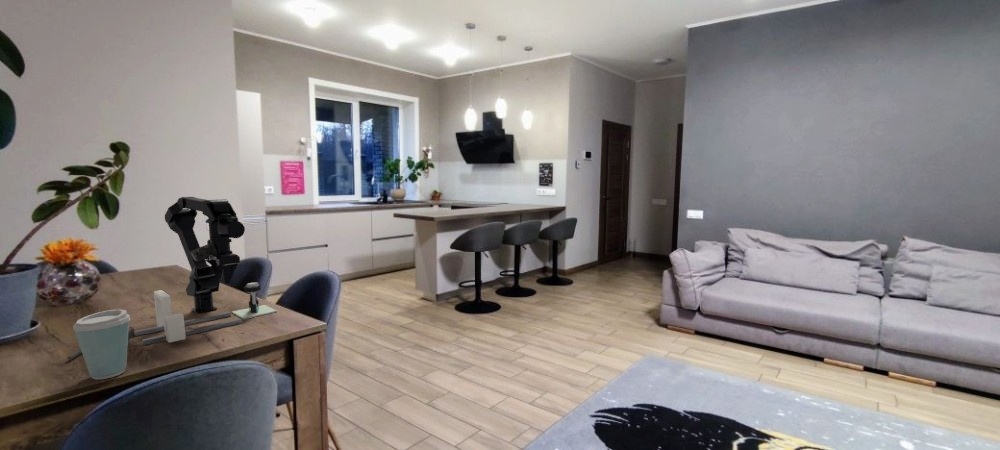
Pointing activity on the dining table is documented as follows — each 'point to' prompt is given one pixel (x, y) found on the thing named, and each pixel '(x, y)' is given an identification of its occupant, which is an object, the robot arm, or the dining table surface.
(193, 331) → the tie rails
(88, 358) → the disposable coffee cup
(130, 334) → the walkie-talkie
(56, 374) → the dining table surface
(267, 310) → the pad
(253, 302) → the push button
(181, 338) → the frosted white block
